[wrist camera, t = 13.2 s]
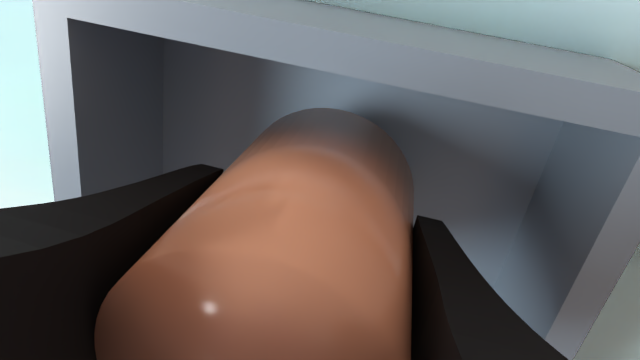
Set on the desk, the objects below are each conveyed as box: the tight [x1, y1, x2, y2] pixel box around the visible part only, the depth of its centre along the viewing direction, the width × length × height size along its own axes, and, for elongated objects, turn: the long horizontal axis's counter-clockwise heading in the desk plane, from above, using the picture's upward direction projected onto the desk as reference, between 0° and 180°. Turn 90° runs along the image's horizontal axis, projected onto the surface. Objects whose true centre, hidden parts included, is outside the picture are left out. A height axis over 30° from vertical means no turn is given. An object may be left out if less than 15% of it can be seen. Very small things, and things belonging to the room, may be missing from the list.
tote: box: [32, 0, 640, 360], centre depth 15 cm, size 18×14×5 cm
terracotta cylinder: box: [94, 108, 414, 360], centre depth 10 cm, size 5×5×7 cm
